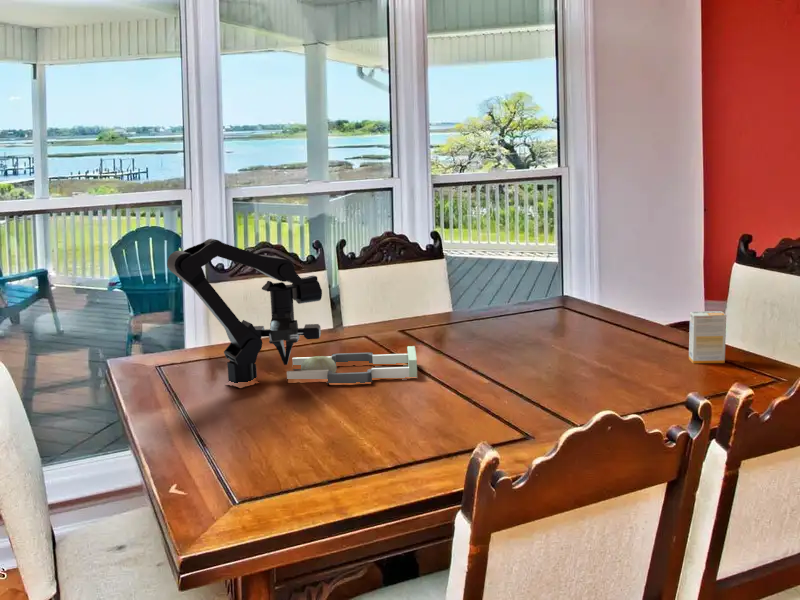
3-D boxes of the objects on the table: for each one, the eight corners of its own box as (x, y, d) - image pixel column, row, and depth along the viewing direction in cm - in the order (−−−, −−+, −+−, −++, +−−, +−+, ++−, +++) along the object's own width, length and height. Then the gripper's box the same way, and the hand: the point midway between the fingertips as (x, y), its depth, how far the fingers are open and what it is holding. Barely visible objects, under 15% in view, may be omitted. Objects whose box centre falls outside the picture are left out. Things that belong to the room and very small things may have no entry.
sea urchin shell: (338, 372, 212) (315, 351, 211) (317, 394, 214) (294, 373, 213) (341, 362, 221) (319, 342, 220) (321, 383, 223) (299, 363, 222)
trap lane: (285, 387, 207) (285, 376, 206) (294, 365, 227) (293, 355, 226) (409, 383, 207) (409, 371, 207) (407, 361, 227) (407, 351, 226)
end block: (409, 379, 211) (408, 360, 210) (407, 364, 224) (407, 346, 223) (417, 378, 211) (416, 359, 210) (415, 364, 224) (414, 346, 224)
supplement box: (719, 358, 220) (721, 310, 217) (725, 363, 215) (727, 314, 213) (687, 359, 221) (689, 310, 218) (692, 364, 216) (694, 314, 213)
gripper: (240, 314, 206) (245, 374, 209) (315, 311, 206) (319, 371, 209) (247, 305, 216) (251, 362, 220) (319, 302, 217) (322, 360, 220)
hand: (285, 364), depth 217 cm, fingers closed
